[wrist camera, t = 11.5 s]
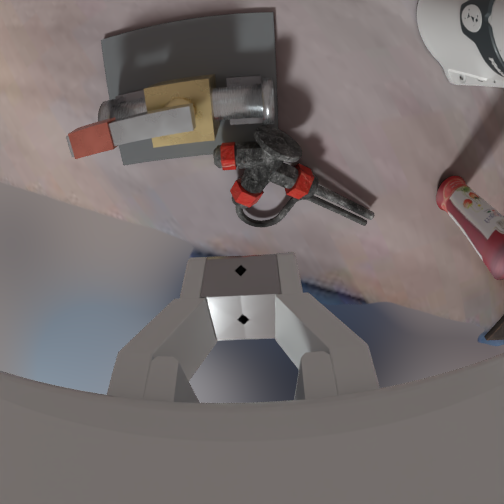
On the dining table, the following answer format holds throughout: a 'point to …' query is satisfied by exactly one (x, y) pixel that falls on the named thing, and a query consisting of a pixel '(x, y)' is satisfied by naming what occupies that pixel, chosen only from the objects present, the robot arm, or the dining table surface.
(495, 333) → the dark grey flat slab
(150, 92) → the pipe valve
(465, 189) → the liquor
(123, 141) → the lever
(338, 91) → the dining table surface
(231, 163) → the valve
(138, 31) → the mat
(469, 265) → the dining table surface
